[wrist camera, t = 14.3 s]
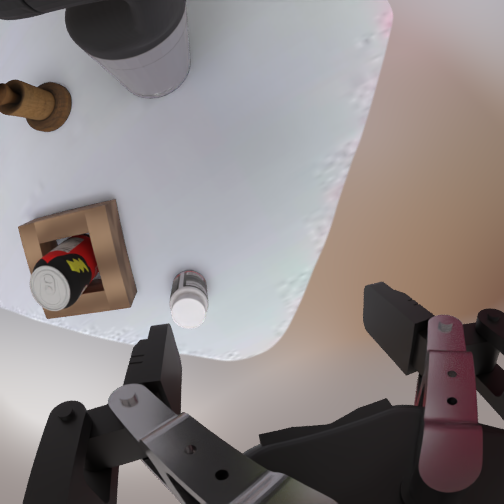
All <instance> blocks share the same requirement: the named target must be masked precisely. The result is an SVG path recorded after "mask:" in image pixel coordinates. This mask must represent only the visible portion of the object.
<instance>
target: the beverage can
mask: <svg viewBox="0 0 504 504" xmlns="http://www.w3.org/2000/svg"><path fill="white" fill-rule="evenodd" d="M98 272H99V269H98V266H97V262H96V258H95V254H94V251H93V247H92V243H91V239H90V237H88V236H85V235H75V236H72V237H70V238H68V239H67V240H66V241H64V242H63V243H61V244H60V245H58V246H57V247H56V248H54V249H53V250H52V251H50V252H49V253H47V254H46V255H45V256H43V257H42V258H41V259H40V260H38V262H37V263H36V265H35V266H34V269H33V273H32V275H31V278H30V289H31V293H32V295H33V297H34V299H35V300H36V301H37V303H38V304H39V305H41V306H42V307H43V308H45V309H47V310H50V311H59V310H61V309H65V308H68V307H70V306H72V305H73V304H74V303H75V302H76V301H77V300H78V298H79V297H80V296H81V294H82V293H83V292H84V290H85V289H86V288H87V286H88V285H89V284H90V283H91V281H92V280H93V279H94V277H95V276H96V275H97V274H98Z"/></svg>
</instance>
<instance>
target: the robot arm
mask: <svg viewBox="0 0 504 504" xmlns="http://www.w3.org/2000/svg"><path fill="white" fill-rule="evenodd" d="M64 8H66V11H65V23H66V28H67V31H68V33H69V35H70V37H71V38H72V39H73V41H74V42H75V43H76V44H77V45H78V46H79V47H81V48H82V49H83V50H84V51H85V52H86V53H87V54H88V55H90V56H91V57H92V58H93V59H94V60H95V61H97V62H98V63H99V64H100V65H101V66H102V67H103V68H104V69H106V70H107V71H108V72H109V73H110V74H111V75H112V76H113V77H114V78H116V79H117V80H118V81H119V82H120V83H121V84H122V85H123V86H124V87H126V88H127V89H128V90H129V91H130V92H131V93H133V94H135V95H137V96H140V97H143V98H157V97H161V96H164V95H167V94H169V93H171V92H173V91H174V90H175V89H177V88H178V87H179V86H180V85H181V84H182V83H183V81H184V80H185V78H186V76H187V75H188V72H189V69H190V49H189V37H188V24H187V12H186V0H0V19H3V20H17V19H23V18H29V17H34V16H38V15H41V14H45V13H48V12H52V11H56V10H60V9H64ZM363 322H364V326H365V329H366V331H367V332H368V333H369V334H370V335H371V337H373V339H374V340H375V341H376V342H377V343H378V344H379V345H380V347H381V348H382V349H383V350H384V351H385V352H386V353H387V354H388V356H389V357H390V358H391V359H392V360H393V361H394V362H395V363H396V365H397V366H398V367H399V368H400V369H401V370H402V371H403V372H404V374H405V375H409V374H411V373H414V372H416V371H418V372H419V375H418V379H417V387H416V395H415V402H414V405H395V406H392V405H391V404H390V402H389V401H388V399H386V398H385V399H383V400H380V401H377V402H374V403H372V404H369V405H366V406H363V407H360V408H358V409H356V410H354V411H352V412H351V413H349V414H347V415H345V416H344V417H342V418H340V419H338V420H336V421H335V422H333V423H331V424H327V425H317V426H302V427H291V428H286V429H282V430H278V431H273V432H269V433H264V434H259V438H260V444H259V445H257V446H254V447H253V448H251V449H249V450H247V451H246V452H244V453H243V454H242V453H241V452H239V451H238V450H236V449H235V448H233V447H232V446H231V445H229V444H228V443H226V442H225V441H223V440H222V439H220V438H219V437H218V436H216V435H215V434H214V433H212V432H211V431H210V430H208V429H207V428H206V427H204V426H203V425H202V424H200V423H199V422H198V421H196V420H195V419H194V418H192V417H191V416H190V415H189V414H187V413H185V412H183V413H181V382H182V366H181V360H180V356H179V352H178V349H177V346H176V342H175V339H174V335H173V332H172V328H171V326H170V324H162V325H155V326H151V327H150V331H149V335H148V339H144V340H140V341H139V342H138V343H137V344H136V345H135V347H134V348H133V351H132V355H131V358H130V361H129V365H128V369H127V372H126V376H125V380H124V384H123V386H121V387H119V388H117V389H116V390H115V391H113V393H112V394H111V395H110V397H109V399H108V404H107V405H104V406H101V407H97V408H94V409H91V410H86V408H85V407H84V405H83V404H82V403H80V402H78V401H67V402H64V403H61V404H59V405H58V406H57V407H55V408H54V409H53V410H52V411H51V413H50V415H49V418H48V420H47V423H46V426H45V429H44V432H43V435H42V438H41V441H40V444H39V447H38V450H37V453H36V457H35V460H34V463H33V467H32V470H31V474H30V477H29V481H28V485H27V488H26V492H25V496H24V500H23V504H117V486H118V472H119V465H123V464H126V463H129V462H133V461H136V460H139V459H141V461H142V462H143V463H144V464H145V465H146V466H147V467H148V469H149V470H150V471H151V472H152V473H153V474H154V475H155V476H156V477H157V478H158V479H159V480H160V481H161V482H162V483H163V484H164V485H165V486H166V488H168V490H170V492H171V493H172V494H173V495H174V496H175V497H176V498H177V500H178V501H179V502H180V503H181V504H504V429H500V428H496V427H492V426H488V425H484V424H480V423H478V410H477V393H476V390H477V391H478V392H479V393H480V394H481V395H482V396H483V397H484V399H485V400H486V401H487V402H488V403H489V404H490V405H491V406H492V407H493V409H494V410H495V411H496V412H497V413H498V414H499V415H500V416H501V417H502V419H503V420H504V370H503V369H502V368H501V367H500V366H499V365H498V364H496V361H497V358H498V355H499V352H501V353H502V354H503V355H504V313H503V312H502V311H499V310H496V309H484V310H481V311H480V312H479V313H478V316H477V321H476V323H469V324H462V322H461V321H460V320H459V319H457V318H456V317H453V316H450V315H438V316H434V315H433V314H432V313H430V312H429V311H428V310H426V309H425V308H423V306H421V305H420V304H418V303H417V302H416V301H415V300H412V298H410V297H409V296H408V295H406V294H405V293H402V292H399V291H396V290H393V289H392V288H390V287H389V286H388V285H386V284H385V283H384V282H379V283H374V284H370V285H367V286H365V288H364V308H363Z"/></svg>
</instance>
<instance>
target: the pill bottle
mask: <svg viewBox="0 0 504 504" xmlns="http://www.w3.org/2000/svg"><path fill="white" fill-rule="evenodd" d="M170 309H171V315H172V318H173V320H174V322H175V323H176V324H177V325H179V326H180V327H183V328H187V329H191V328H196V327H198V326H199V325H201V324H202V323H203V321H204V320H205V317H206V312H207V310H208V295H207V285H206V281H205V279H204V278H203V276H202V275H200V274H199V273H197V272H195V271H184V272H182V273H180V274H178V275H177V276H176V278H175V279H174V281H173V285H172V291H171V297H170Z"/></svg>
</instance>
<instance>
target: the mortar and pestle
mask: <svg viewBox="0 0 504 504" xmlns="http://www.w3.org/2000/svg"><path fill="white" fill-rule="evenodd" d="M70 110H71V96H70V93H69V92H68V90H67V89H66V88H65V87H63V86H61V85H59V84H57V83H53V82H48V83H44V84H42V85H40V86H38V87H35V86H32V85H30V84H27V83H25V82H22V81H19V80H11V81H9V82H7V83H6V84H4V83H1V84H0V112H1V113H3V114H5V115H12V116H19V117H24V118H26V119H27V122H28V124H29V125H30V126H31V127H32V128H33V129H35V130H39V131H44V132H50V131H54V130H56V129H58V128H59V127H61V126H62V125H63V124H64V122H65V121H66V120H67V118H68V116H69V113H70Z"/></svg>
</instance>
